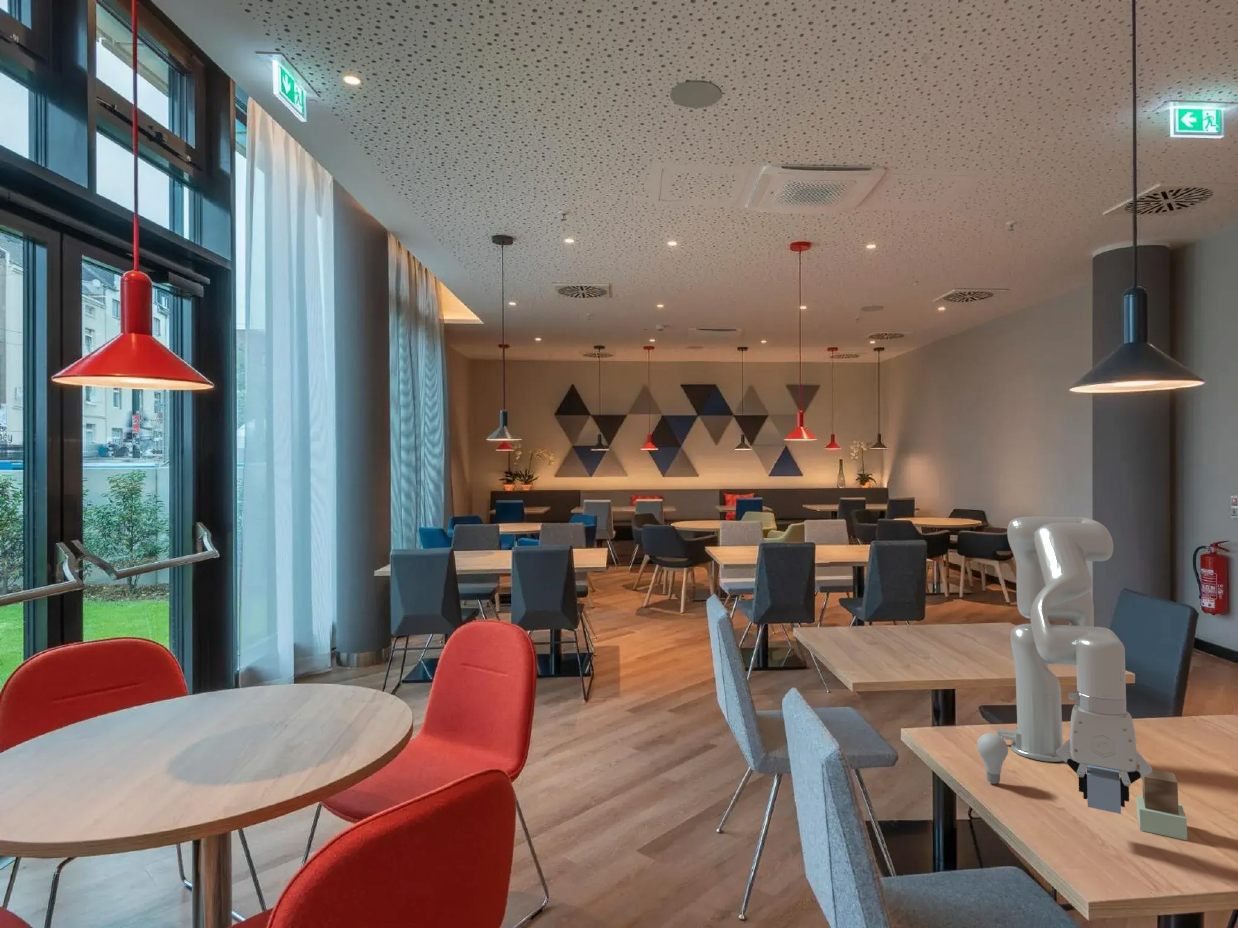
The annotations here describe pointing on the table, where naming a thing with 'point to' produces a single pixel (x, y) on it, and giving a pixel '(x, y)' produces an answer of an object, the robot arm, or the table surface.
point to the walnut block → (1160, 792)
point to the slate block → (1103, 789)
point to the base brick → (1162, 821)
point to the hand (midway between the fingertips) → (1103, 798)
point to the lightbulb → (992, 755)
